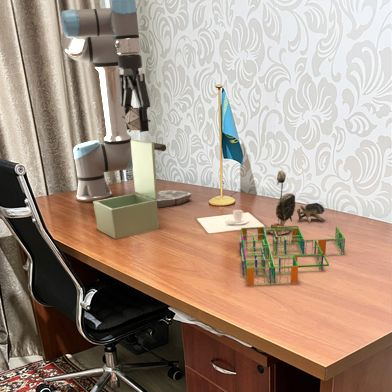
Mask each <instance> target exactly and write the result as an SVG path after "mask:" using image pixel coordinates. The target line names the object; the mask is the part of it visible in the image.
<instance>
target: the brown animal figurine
mask: <svg viewBox="0 0 392 392" xmlns="http://www.w3.org/2000/svg"><path fill="white" fill-rule="evenodd" d="M324 212H325V207H324V206H323V205H322V204H321V203H318V202H313V203H307V205H305V207H304V206H303V205H302V204H300V205H299V208H297V210H296V213H297V215H298V216H297V217H298V221H301V220H302V219H303V218H306V219H307V220H308V224H310V223H311V220H312V218H315V219H318V220H319V221H320V222H325V221H326V220H325V219H324V218H322V217H321V216H320V215H323V213H324Z"/></svg>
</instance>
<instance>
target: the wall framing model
mask: <svg viewBox="0 0 392 392" xmlns="http://www.w3.org/2000/svg"><path fill="white" fill-rule="evenodd" d="M270 228H281V229H273V230H267V229H270ZM282 228H285V229H282ZM248 230H257V233H256V234H255V233H253V234H252V235H249V234H248ZM266 230H267V232H265V231H266ZM278 230H280V235H278ZM282 230H283V231H289V232H290V231H291V238H288V237H289V235H282V234H281V233H282ZM270 232H273V233H272V245H273V246H274V249H272V251H273V254H274V255H272V251H271V247H270V243H269V241H268V236H267V233H270ZM256 236H257V239H256V238H255V237H256ZM238 238H239V241H238V242H239V256H240V259H241V260H240V263H241V272H242V277H245V279H246V284H247V286H255V285H261V283H258V281H259V280H258V279H259V277H255V276H258V275H260V276H264V277H263V281H264V282H263V285H266V280H268V281H269V283H268V284H269V285H278V284H282V282H279V280H278V279H282V276H281V275H284V274H288V273H290V276H286V280H287V281H286V284H289V282H288V280H289V278H290V284H297V283H298V280H299V277H298V276H299V268H315V267H317V268H319V269H310V270H306V272H311V271H312V272H314V271H315V272H316V271H324V270H323V269H324V267H330V263H329V262H328V259H327V257H326V256H327V254H326V250H327V242H334V243H335V244H336V245H337V248H338V249H339V250H340V254H339V253H338V254H337V256H344V255H345V245H346V237H345V236H344V234H343V233H342V232H341V230H340V229H339V228H338V226H335V234H334V238H323V239H322V238H321V239H305V238H304V236H303V234H302V232H301V230H300V228H299V226H298V225H288V226H284V227H271V226H270V227H250V228H241V229H240V235H239V237H238ZM248 238H252V239H248ZM282 238H283V240H282ZM256 242H258V243H261V244H262V245H261V246H257V247H256ZM249 243H252V244H249ZM308 243H311V250H314V251H313V252H314V253H309V254H307V253H305V251H306V244H308ZM291 244H292V245H293V246H295V245H294V244H297V246H295V248H296V249H298V247H299V250H300V251H301V253H298V254H292V256H288V255H290V252H293V251H296V249H291ZM278 245H279V246H278ZM287 245H288V248H287ZM248 246H249V247H248ZM256 249H257V250H260V251H256ZM278 249H280V253H279V250H278ZM247 250H249V252H248V254H247V252H246V251H247ZM252 250H253V251H252ZM282 252H284V253H282ZM287 252H288V253H287ZM276 253H277V254H276ZM250 257H254V259H253V258H250ZM310 257H313V258H314V257H315V259H316V262H317V264H304V265H298V258H310ZM247 258H250V259H247ZM266 258H267V259H266ZM276 258H278V263H275V261H274V259H276ZM289 259H292V262H291V263H290V262H288V265H286V261H287V260H288V261H289ZM282 261H284V263H281V262H282ZM324 261H325V263H324ZM248 262H250V266H248ZM266 263H268V266H266ZM258 264H261V265H260V266H258ZM285 269H288V270H285ZM282 270H283V272H282ZM259 271H260V272H259ZM258 272H259V273H258ZM255 273H256V274H255ZM278 277H279V278H278ZM255 279H256V283H255ZM276 279H277V281H276ZM272 281H273V282H272Z"/></svg>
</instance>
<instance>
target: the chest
mask: <svg viewBox="0 0 392 392" xmlns="http://www.w3.org/2000/svg"><path fill="white" fill-rule="evenodd" d="M92 204H93V208H94V215H95V222H96V229H97V230H98V231H100V232H102V233H104V234H105V235H107V236H109V237H111V238H112V239H115V240H119V239H123V238H126V237H131V236H135V235H140V234H143V233H148V232H152V231H157V230H160V220H159V212H158V211H159V210H158V207H157V200H154V199H151V198H148V197H146V195H143V194H140V193H137V192H134V193H131V194H130V193H129V194H124V195H119V196H114V197H110V198H108V199H104V200H99V201H93V202H92Z"/></svg>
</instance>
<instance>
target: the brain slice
mask: <svg viewBox="0 0 392 392" xmlns="http://www.w3.org/2000/svg"><path fill="white" fill-rule="evenodd" d="M145 196H146V195H145ZM191 196H192V193H191V192H189V191H186V190H160V191H157V197H158V199H154V198H151V197H148V196H146V197H148V198H151V199H154V200H157V208H165V207H167V208H168V207H172V206H178V205H181V204H184V203H187V202H188V201H189V200H190V199H191Z"/></svg>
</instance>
